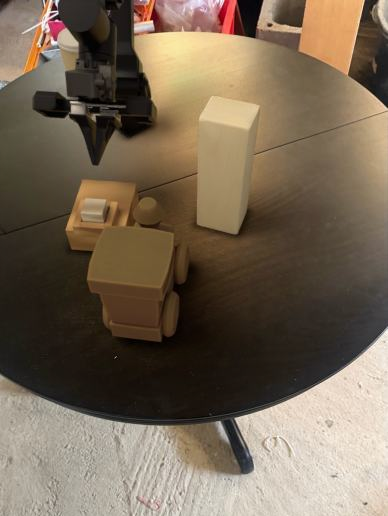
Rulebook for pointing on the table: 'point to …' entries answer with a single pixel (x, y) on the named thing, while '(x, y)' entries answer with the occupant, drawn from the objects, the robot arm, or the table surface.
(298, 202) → the table surface
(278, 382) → the table surface
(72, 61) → the coffee cup
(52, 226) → the table surface
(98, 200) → the white rounded block
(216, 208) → the tall cream block
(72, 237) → the box with white insert
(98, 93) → the robot arm
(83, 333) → the table surface
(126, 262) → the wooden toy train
